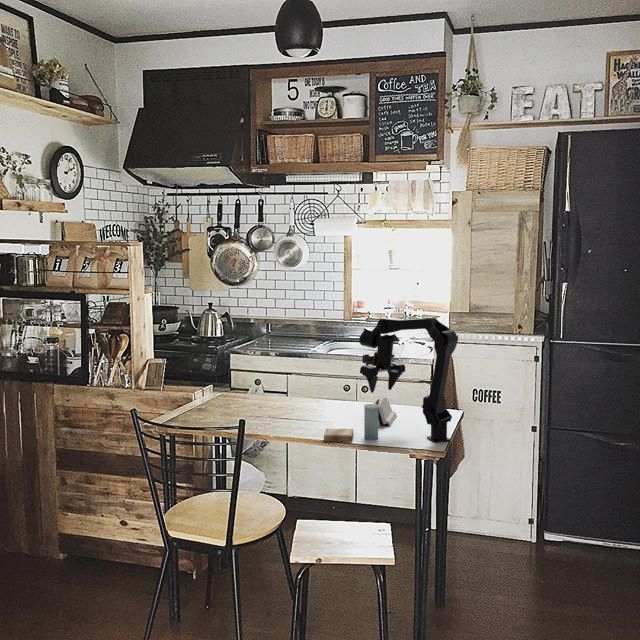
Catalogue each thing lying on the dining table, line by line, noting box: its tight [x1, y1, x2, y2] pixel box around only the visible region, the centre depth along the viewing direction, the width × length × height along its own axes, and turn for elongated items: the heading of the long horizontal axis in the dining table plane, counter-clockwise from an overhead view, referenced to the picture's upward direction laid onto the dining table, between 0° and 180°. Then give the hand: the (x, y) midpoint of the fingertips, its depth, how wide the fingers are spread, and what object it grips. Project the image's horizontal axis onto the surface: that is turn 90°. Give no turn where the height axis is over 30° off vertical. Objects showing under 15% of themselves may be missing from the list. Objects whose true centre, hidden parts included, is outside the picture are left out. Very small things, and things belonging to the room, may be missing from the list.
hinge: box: [372, 397, 398, 427], centre depth 304 cm, size 17×5×10 cm, turn 165°
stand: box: [323, 428, 354, 443], centre depth 280 cm, size 10×10×2 cm
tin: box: [363, 403, 379, 441], centre depth 279 cm, size 5×5×12 cm
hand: (380, 391), depth 291 cm, fingers open, 9 cm apart
